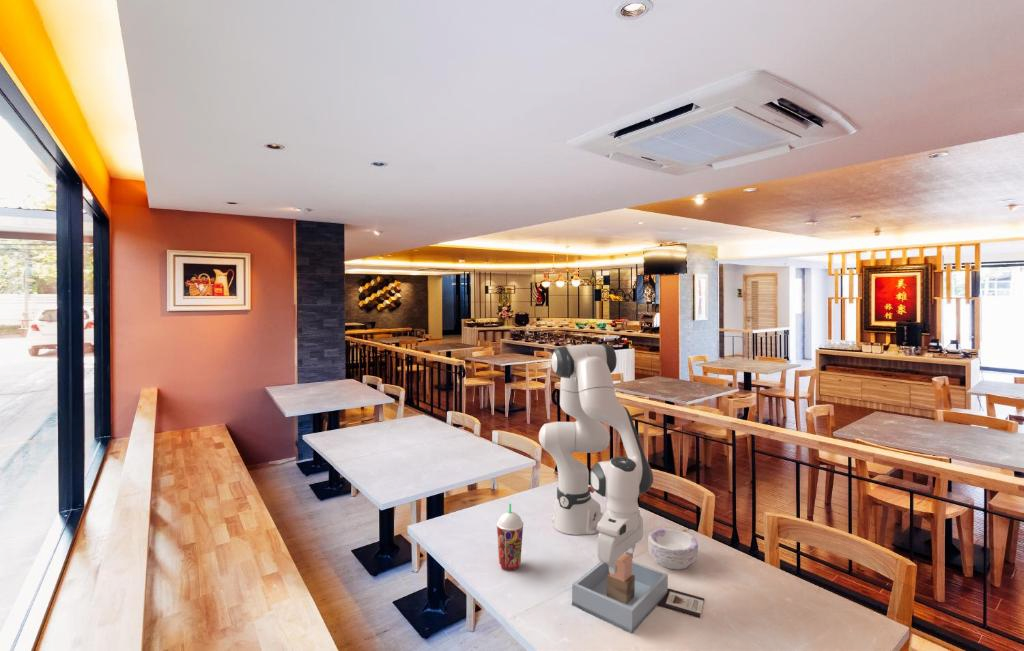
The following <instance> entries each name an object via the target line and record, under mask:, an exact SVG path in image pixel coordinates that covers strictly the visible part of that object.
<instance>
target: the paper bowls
mask: <svg viewBox="0 0 1024 651" xmlns="http://www.w3.org/2000/svg"><path fill="white" fill-rule="evenodd" d="M647 540H648V541H647V542H648V543H647V549H648V550H647V551H648V553H649V555H650V556H651V557H653V558H654V559H655V561H656V562H657V563H658V564H659V565H660V566H662V567H664V568H667V569H669V570H676V571H677V570H678V571H679V570H684V569H686V568H688V567H689V566H690V564H692V563H695V562H696V561H697V560H698V554H699V542H698V540H697V539H696V538H695V536H694V535H692V534H690V533H689V532H686V531H682V530H679V529H674V528H658V529H656V530H653V531H651V532H650V533H649V534H648V539H647Z"/></svg>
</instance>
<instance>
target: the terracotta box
mask: <svg viewBox="0 0 1024 651" xmlns="http://www.w3.org/2000/svg"><path fill="white" fill-rule="evenodd" d="M632 561H633V558H632V556H631V555H628V554H626V552H625V553H624V554H623V555H621V556H620V557H619V558H618V559H617V560H616V562H615V566H617V572H616V573H615V574H611V573H610V576H611V577H614V578H616V579H619V580H621V581H623V582H625V581H626V580H627V579H628V578H629V577H630V576H631V575H632Z"/></svg>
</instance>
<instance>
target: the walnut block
mask: <svg viewBox="0 0 1024 651" xmlns="http://www.w3.org/2000/svg"><path fill="white" fill-rule="evenodd" d="M634 592H635V576H634V575H631V576H630V577H629V578H628V579H627V580H626V581H625V582H623V581H621V580H619V579H616V578H614V577H611V576H610V573H609V574H608V575H607V596H608V597H610V598H612V599H614V600H617V601H619V602H621V603H624V604H627V603H628V602H629V601H630V600H631V599H632V598H633V597H634Z"/></svg>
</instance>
